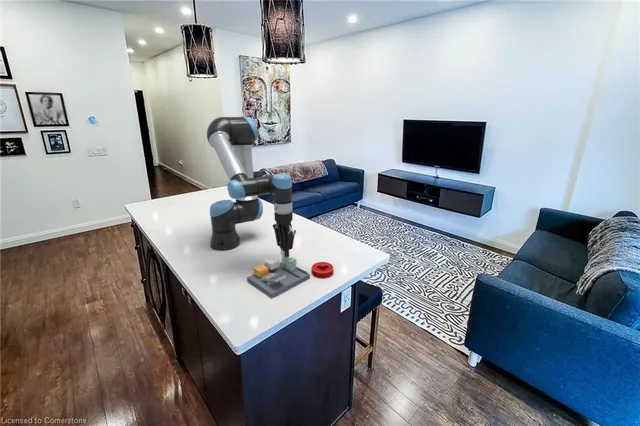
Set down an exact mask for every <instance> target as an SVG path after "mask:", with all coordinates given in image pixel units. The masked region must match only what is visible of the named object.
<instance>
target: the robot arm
mask: <svg viewBox="0 0 640 426" xmlns="http://www.w3.org/2000/svg"><path fill="white" fill-rule="evenodd" d="M258 137H259V131H258V127H257V124H256V122H255V120H254V119H253V118H251V117H248V116H227V117H226V116H220V117H217V118H215V119H214V120H212V121H211V122H210V123H209V125H208V126H207V130H206V140H207V141H208V144H209V146H210V147H212V148H213V149H214V151H215V153H216V155H217V157H218V160H219V161H220V163H221V166H222V167H223V168H222V169H223V170H224V173H225V175H226V176H227V179H228V182H227V186H226V187H227V192H228V195H229V197H230V198H231V199H221V200H218V201H215V202H214V203H212V204H211V205H210V207H209V216H210V224H211V231H212V232H211V233H212V234H211V237H210V241H209V243H210V244H209V245H210V248H211V249H212V250H215V251H228V250H233V249H235V248H237V247H239V246H240V245H241V239H240V236H239V234H238V232H237V230H236V225H240V224H242V223H247V222H248V223H249V222H254V221H257V220H260V219H261V218H262V216H263V212H264V207H263V202H262V200H261V199H260V198H259V196H264V195H272V196H273V207H274V208H273V209H274V213H273V214H274V221H275V223H274V224H272V228H273V230H274V235H275V241H276V245H277V247H279V249H280V255H281V262H282V263H283V264H285V263H286V259H288V258H290V251H291V250H292V249H294V248H293V246H294V240H295V235H296V233H297V230H296V229H293V227H292V226H293V225H292V221H293V219H294V218H293V217H294V216H293V210H294V209H293V182H292V176H291V175H290V174H288V173H277V174H274V175H273V174H267V173H266V174H263V175H261V176H259V177H254V164H253V151H252V148H253V147H254V146H255V142H256V141H257V140H258ZM232 199H233V200H235V201H233V200H232Z"/></svg>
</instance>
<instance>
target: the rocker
mask: <svg viewBox="0 0 640 426" xmlns="http://www.w3.org/2000/svg"><path fill="white" fill-rule="evenodd" d="M283 278H286V275H283V274H274V273H269V274H267V275H265V276H263V277H262V278H261V280H264V281H271V282H277V281H279V280H281V279H283Z"/></svg>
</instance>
